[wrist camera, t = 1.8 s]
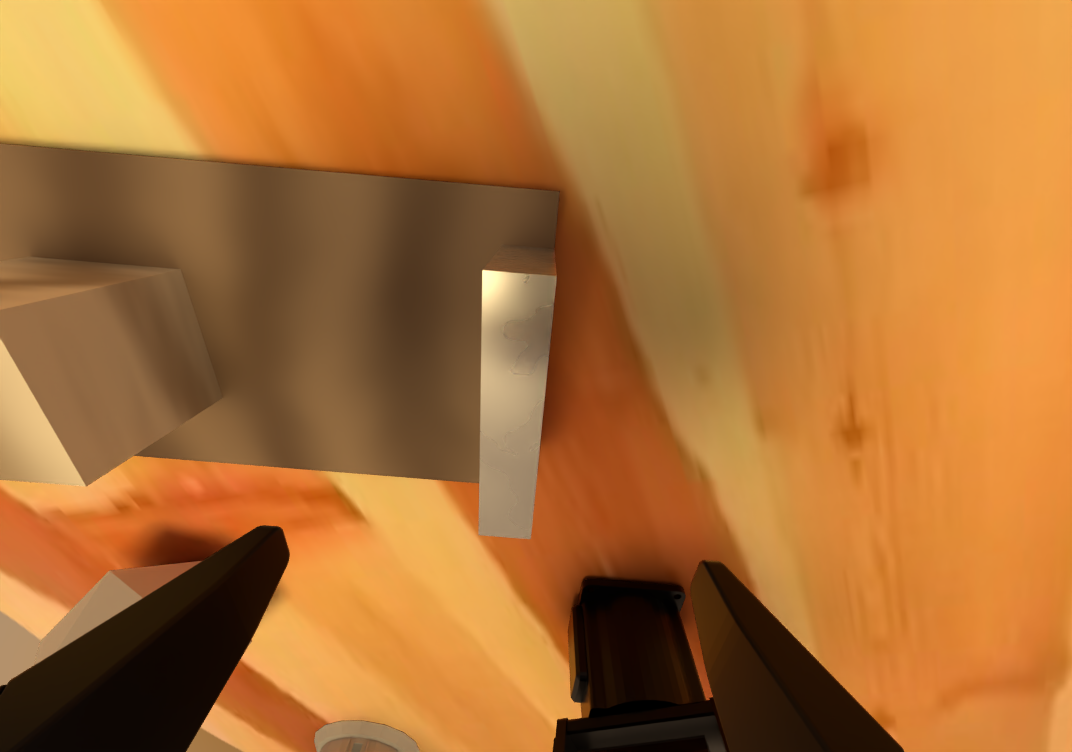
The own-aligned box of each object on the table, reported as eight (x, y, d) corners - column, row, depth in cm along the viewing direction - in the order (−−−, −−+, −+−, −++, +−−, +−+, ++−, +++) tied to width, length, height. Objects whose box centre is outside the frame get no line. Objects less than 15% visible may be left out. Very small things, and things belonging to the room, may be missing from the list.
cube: (180, 269, 16) (-15, 312, 10) (222, 397, 18) (86, 486, 13) (31, 257, 16) (-244, 294, 10) (95, 387, 18) (-96, 472, 13)
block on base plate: (559, 191, 15) (565, 193, 9) (532, 477, 21) (527, 573, 16) (-78, 137, 14) (-431, 109, 9) (87, 441, 21) (-68, 527, 15)
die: (138, 503, 24) (-69, 688, 19) (204, 569, 20) (-40, 832, 14) (244, 550, 30) (110, 698, 25) (312, 607, 26) (167, 801, 20)
